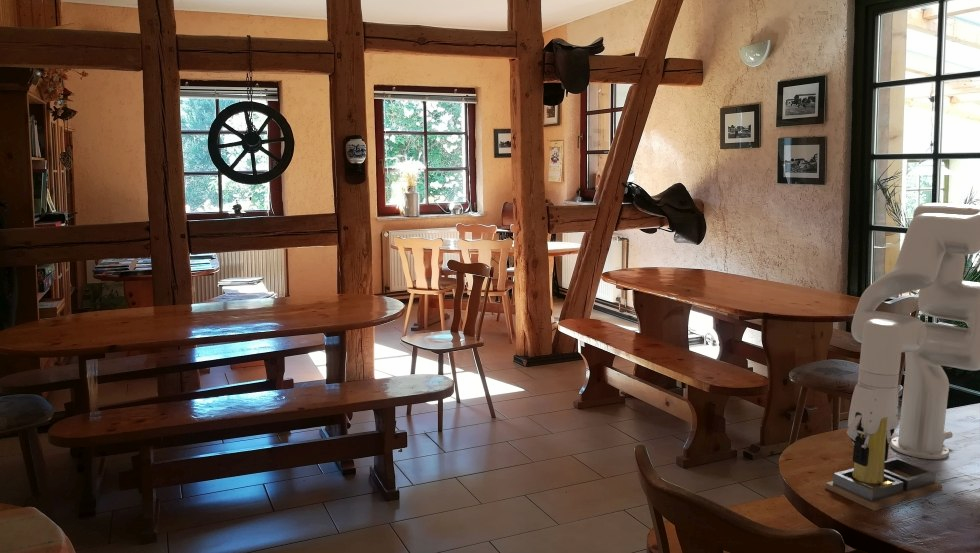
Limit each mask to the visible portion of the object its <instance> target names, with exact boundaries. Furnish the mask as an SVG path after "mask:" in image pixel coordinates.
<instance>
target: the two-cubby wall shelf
mask: <svg viewBox="0 0 980 553" xmlns="http://www.w3.org/2000/svg"><path fill="white" fill-rule="evenodd" d="M894 470H898V471H901V472H903V473H905V474H908V475H910V476H913V477H909V478H905V477H903V476H900V475H898V474H895V473H893V472H890V471H894ZM853 471H854V467H852V468H848V469H845V470H841V471H838V472H837V471H836V472H834V473H833V477H832V481H833V485H835V486H838V487H840V488H842V489H844V490H846V491H848V492H851V493H853V494H855V495H857V496H859V497H862V498H864V499H866V500H868V501H870V502H874V501H878V500H881V499H885V498H888V497H891V496H895V495H898V494H901V493H902V492H903V491H906V492H908V491H912V490H915V489H918V488H922V487H925V486H929V485H932V484H935V482H936V483H937V481H936V480H937V472H936V471H933V470H931V469H928V468H925V467H923V466H920V465H918V464H916V463H913V462H910V461H908V460H906V459H902V458H900V457H898V456H895V457H890V458H887V461H885V464H884V481H883V482H882V483H880V484H877V485H879V486H877V487H874V488H871V487H869V486H867V485H864V484H862V483H860V482H857V480H856V479H855V478H854V477H853V476H852V473H853Z"/></svg>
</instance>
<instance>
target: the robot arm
mask: <svg viewBox="0 0 980 553" xmlns="http://www.w3.org/2000/svg"><path fill="white" fill-rule="evenodd" d="M900 247H901V248H900V250H899V253H898V255H897V256H898V257H897V258H896V261H895V264H894V267H893V269H891V270H890V271H888V272H887V273H884V274H883V275H881V276H880V277H879V278H877V279H876V280H874V281H873V282H872V283H871V284H870V285H869V286H868V287H867V288H865V290H864V291H863V293H862V294H861V296H860V298H859V301H858V303H857V306H856V309H855V310H854V311H855V312H854V315H853V318H852V321H851V336H852V337H853V339H854V340H855V341H856V342H858V343H859V344H861V346H860V357H859V367H858V378H857V384H855V386H854V390H853V393H852V396H851V401H850V407H849V412H848V420H847V427H848V429H847V430H846V435H847V436H848V437H849V439H850V440H851V441H852V445H853V453H852V462H853V463H857V464H860V465H862V466H867V465H868V456H869V448H867V445H868V442H869V439H870V436H871V434H875V433H877V431H878V429H879V426H880V422H881V419H882V418H886V417H888V420H887V426H886V430H887V435H886V447H885V461H887V459H889V458H888V457H889V455H888V454H889V449H890V448H889V447H890V446H891V448H892V449H893V450H895V451H897V452H899V453H901V454H903V455H906V456H908V457H913V458H918V459H925V460H942V459H946V458H947V457H949V454H950V449H949V448H948V447H947V446H946V445H945V444H944V443H945V441H946V440H949V439H951V438H953V435H954V434H953V432H952V431H951V430H945V426H946V424H945V423H946V418H947V417H946V416H947V415H946V414H947V409H948V408H947V407H948V398H949V391H950V382H949V378H948V375H947V374H946V371H945V370H944V368H943V367H942V366H944V367H949V368H956V369H960V370H965V371H966V370H967V371H980V282H977V281H969V280H965V279H964V272H965V267H966V266H965V265H966V258H965V255H968V256H969V255H974V254H975V255H976V254H977V253H979V252H980V205H975V204H961V203H960V204H959V203H949V202H948V203H946V202H928V203H923V204H920V205H918V206H917V207H916V208H915V209H914V212H913V215H912V219H911V221H910V222H909V225H908V227H907V231H906V233H905V236H904V239H903V242H902V244H901V246H900ZM915 291H918V299H917V306H918V310H919V311H920V312H921V314H923V315H924V316H928V317H932V318H938V319H942V320H943V319H945V320H950V321H955V322H956V321H957V322H963V323H966V324H967V326H968V328H966V327H961V326H955V325H954V326H953V325H948V324H945V323H944V324H943V323H936V322H929V321H927V322H926V321H924V322H923V321H922V320H921V319H919V318H917V317H915V316H912V315H911V316H910V315H905V314H898V313H894V312H893V313H892V312H887V311H879V310H876V309H877V308H878V307H879V306H880V305H881V304H882V303H883V302H884V301H886V300H888V299H889V298H892V297H896V296H898V295H902V294H906V293H911V292H915ZM902 353H904V355H905V356H904V358H905V364H904V365H905V368H904V369H905V371H904V382H903V383H904V384H903V388H902V389H903V392H902V399H901V400H902V401H901V409H900V418H899V419H900V420H898V415H899V414H898V413H899V388H898V387H899V380H900V379H899V378H900V369H901V358H902ZM898 426H899V428H898V436H895V437H893V434H894V433H895V430H896V429H897V427H898ZM861 428H863V429H864V431H861ZM861 434H863V435H865V436H864V439H863V440H862V438H861V437H860V435H861ZM892 437H893V438H892Z"/></svg>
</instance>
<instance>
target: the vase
mask: <svg viewBox="0 0 980 553" xmlns="http://www.w3.org/2000/svg"><path fill="white" fill-rule="evenodd" d="M887 420H888V417H886V418H882V419H881V422H880V426H879V429H878V431H877V433H875V434H871V436H870V439H869V442H868V445H867V448H869V456H868V465H867V466H862V465H860V464H857V463H855V462H853V463H854V466H853V468H854V471H853V473H852V476H853V477H854V478H855V479H856V480H858V481H860V482H863V483H868V484H880V483H882V482H883V481H884V464H885V447H886V435H887V430H886V426H887ZM861 431H864V429H863V428H861ZM864 436H865V435H863V434H861V435H860V437H861V438H862V440H863V439H864Z"/></svg>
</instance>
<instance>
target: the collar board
mask: <svg viewBox="0 0 980 553" xmlns="http://www.w3.org/2000/svg"><path fill="white" fill-rule="evenodd" d="M890 472H893V473H895V474H898V475H900V476H903V477H905V478H909V477H913V476H910V475H908V474H905V473H903V472H901V471H898V470H894V471H890ZM857 482H860V481H858V480H857ZM860 483H862V484H864V485H867V486H869V487H871V488H874V487H877V486H879V485H877V484H868V483H863V482H860ZM825 489H827V490H829V491H831V492H833V493H835V494H838V495H839V496H842V497H844V498H846V499H848V500H850V501H852V502H854V503H856V504H859V505H861V506H863V507H865V508H868V509H870V510H871V511H875V512H876V511H878V510H883V509H885V508H888V507H891V506H890V505H892V506H894V505H893V504H895V505H897V504H896V503H898V504H900V503H899V502H902V503H904V502H903V501H905V502H907V501H906V500H908V501H911V500H910V499H912V500H915V499H918V498H920V497H925V496H928V495H931V494H934V493H937V492H940V491H943V484H941V483H938V482H937V481H936V482H935V484H932V485H929V486H925V487H922V488H918V489H915V490H912V491H908V492H906V491H903V492H902V493H901V494H898V495H895V496H891V497H888V498H885V499H881V500H878V501H874V502H870V501H868V500H866V499H864V498H862V497H859V496H857V495H855V494H853V493H851V492H848V491H846V490H844V489H842V488H840V487H838V486H835V485H833V480H831V481H827V482H825Z"/></svg>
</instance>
